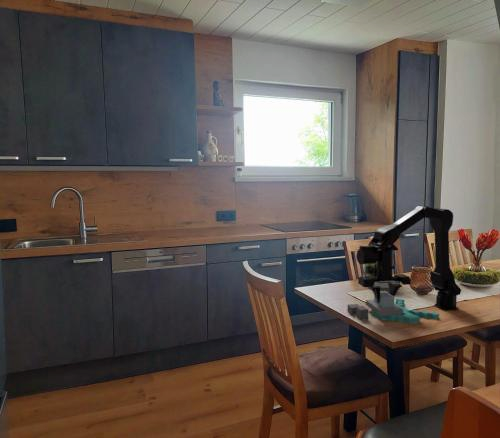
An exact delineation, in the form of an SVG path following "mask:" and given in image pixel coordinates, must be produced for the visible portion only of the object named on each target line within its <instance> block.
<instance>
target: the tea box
mask: <svg viewBox="0 0 500 438" xmlns="http://www.w3.org/2000/svg"><path fill="white" fill-rule="evenodd" d="M375 264H377V262H376V263H372V264H363V276H369V277H370V274H366V272H365V267H366V266H372V268H374V267H375ZM371 278H372V279H373V278H376V277H371ZM380 281H383V280H380ZM378 286H379V287H380V289H389V285H388V283H378ZM367 289H371V287H367Z"/></svg>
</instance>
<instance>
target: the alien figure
mask: <svg viewBox="0 0 500 438" xmlns="http://www.w3.org/2000/svg"><path fill="white" fill-rule="evenodd" d="M395 304H396V305H398V306H400V307H401V308H403V314H399V315H386V316H380V315H378V314H377V313H376V312H374V311H373V310H372V309H370V315H372V316H374V317H376V318H378V319H380V320H382V321H386V320H388V321H391V322H395V321H397V322H399V323H408V324H410V325H411V324H416V323H420V322H421V317H422V318H424V319H427V318H430V319H433V320H438V319H440V313H438V312H435V311H433V312H428V311H426V310H424V311H419V310H417V309H414V310H413V309H412V310H411V309H408V308H406V307H405V299H403V298H397V299H396V300H395ZM403 306H404V307H403Z"/></svg>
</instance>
